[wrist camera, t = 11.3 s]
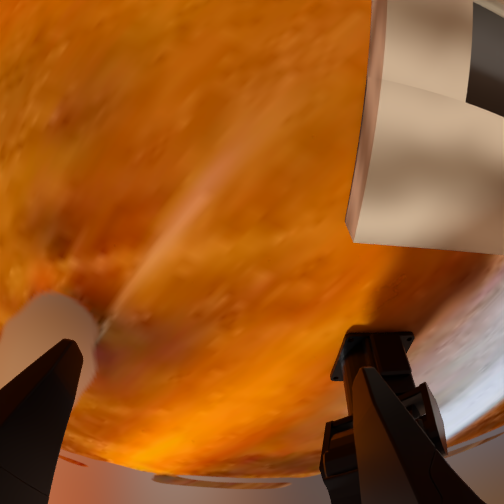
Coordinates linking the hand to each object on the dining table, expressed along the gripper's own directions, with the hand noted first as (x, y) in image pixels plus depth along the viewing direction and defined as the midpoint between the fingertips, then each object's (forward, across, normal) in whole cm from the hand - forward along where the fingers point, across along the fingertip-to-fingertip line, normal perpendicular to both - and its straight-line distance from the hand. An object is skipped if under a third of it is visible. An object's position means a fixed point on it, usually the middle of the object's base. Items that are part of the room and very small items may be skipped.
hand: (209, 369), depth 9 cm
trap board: (+12, -20, -8) cm, 24 cm away
